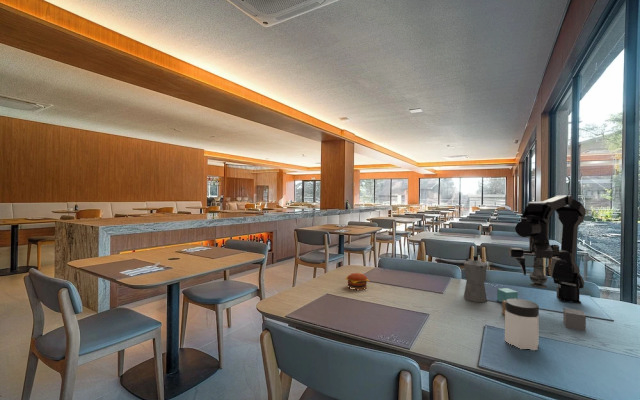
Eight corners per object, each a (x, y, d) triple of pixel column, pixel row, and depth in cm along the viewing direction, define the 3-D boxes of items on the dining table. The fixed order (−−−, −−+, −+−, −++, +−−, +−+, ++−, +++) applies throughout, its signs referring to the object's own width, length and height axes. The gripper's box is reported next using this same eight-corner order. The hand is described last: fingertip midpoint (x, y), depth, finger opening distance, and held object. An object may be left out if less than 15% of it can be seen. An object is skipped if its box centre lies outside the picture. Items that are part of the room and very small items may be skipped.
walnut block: (516, 314, 110) (516, 300, 110) (524, 320, 105) (524, 305, 105) (502, 313, 111) (502, 300, 111) (509, 319, 106) (509, 305, 106)
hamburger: (343, 286, 145) (343, 272, 145) (360, 283, 149) (360, 270, 149) (354, 291, 136) (354, 277, 136) (371, 288, 141) (371, 274, 141)
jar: (507, 334, 94) (507, 296, 94) (539, 342, 89) (540, 301, 89) (502, 344, 88) (502, 303, 87) (537, 354, 82) (537, 310, 82)
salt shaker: (551, 288, 110) (552, 255, 110) (534, 287, 111) (534, 255, 110) (541, 283, 116) (541, 252, 116) (525, 283, 117) (525, 252, 116)
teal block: (508, 300, 125) (508, 288, 125) (517, 304, 120) (517, 291, 120) (497, 300, 125) (497, 288, 124) (506, 304, 120) (506, 292, 119)
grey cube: (582, 325, 100) (582, 310, 100) (585, 331, 96) (585, 315, 96) (563, 322, 103) (563, 307, 103) (565, 327, 99) (565, 312, 99)
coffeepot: (494, 304, 120) (494, 259, 120) (470, 304, 120) (470, 259, 120) (477, 292, 135) (477, 252, 135) (455, 291, 136) (455, 252, 136)
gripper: (514, 236, 109) (514, 279, 109) (578, 239, 102) (578, 285, 102) (508, 233, 119) (507, 272, 120) (566, 235, 112) (565, 276, 113)
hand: (538, 276), depth 113 cm, fingers closed on salt shaker, 8 cm apart
